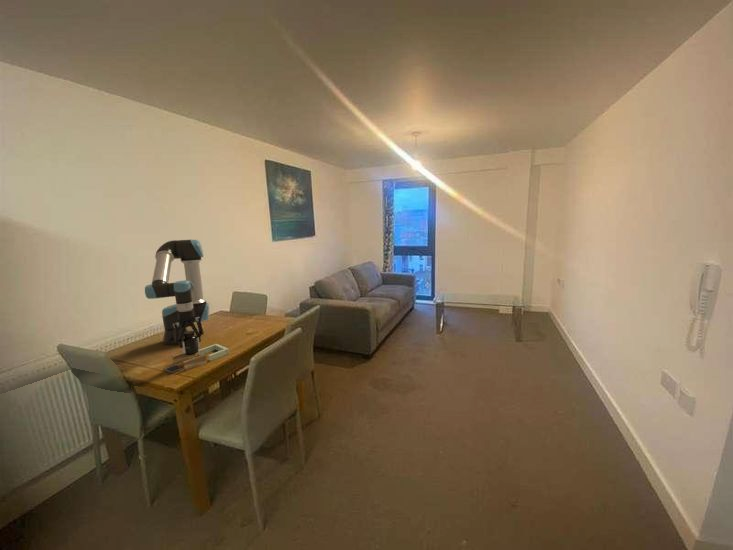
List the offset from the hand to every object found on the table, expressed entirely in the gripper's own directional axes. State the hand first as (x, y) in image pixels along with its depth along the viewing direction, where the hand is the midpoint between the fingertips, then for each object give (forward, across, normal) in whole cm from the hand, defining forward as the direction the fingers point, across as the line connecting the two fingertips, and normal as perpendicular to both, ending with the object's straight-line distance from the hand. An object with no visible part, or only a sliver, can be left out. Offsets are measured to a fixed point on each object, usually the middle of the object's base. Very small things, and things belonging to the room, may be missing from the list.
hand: (191, 350), depth 166 cm
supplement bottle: (+2, 0, 0) cm, 2 cm away
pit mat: (+7, -10, 0) cm, 12 cm away
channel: (+7, -1, 0) cm, 7 cm away
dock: (+7, +11, 0) cm, 13 cm away
